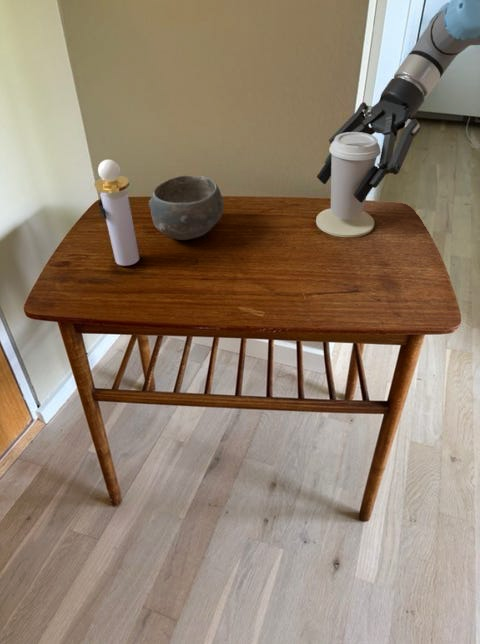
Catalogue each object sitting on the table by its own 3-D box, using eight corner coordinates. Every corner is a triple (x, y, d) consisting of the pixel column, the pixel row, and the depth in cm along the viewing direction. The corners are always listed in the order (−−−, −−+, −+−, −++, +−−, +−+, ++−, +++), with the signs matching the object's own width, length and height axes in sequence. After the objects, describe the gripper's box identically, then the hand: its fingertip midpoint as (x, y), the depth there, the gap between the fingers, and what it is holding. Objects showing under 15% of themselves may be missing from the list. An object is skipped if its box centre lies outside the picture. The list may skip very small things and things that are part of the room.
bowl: (234, 221, 103) (233, 177, 97) (204, 259, 92) (200, 212, 86) (176, 211, 107) (171, 167, 101) (141, 246, 96) (132, 200, 90)
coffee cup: (319, 219, 98) (326, 146, 88) (327, 198, 105) (334, 128, 95) (367, 225, 96) (380, 151, 86) (371, 204, 103) (384, 132, 93)
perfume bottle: (141, 252, 95) (123, 151, 82) (144, 268, 91) (126, 164, 77) (112, 256, 94) (88, 155, 81) (113, 272, 90) (89, 169, 76)
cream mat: (385, 222, 102) (385, 220, 101) (350, 244, 95) (350, 241, 95) (339, 204, 108) (339, 201, 108) (304, 223, 102) (304, 220, 102)
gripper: (464, 115, 87) (388, 219, 91) (372, 88, 101) (310, 179, 105) (453, 89, 82) (373, 201, 85) (357, 64, 95) (292, 162, 99)
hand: (338, 189), depth 95 cm, fingers closed on coffee cup, 9 cm apart
